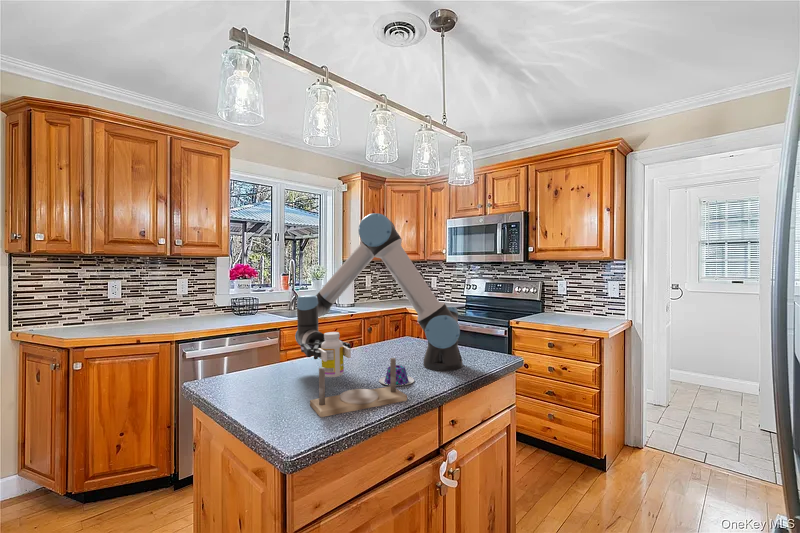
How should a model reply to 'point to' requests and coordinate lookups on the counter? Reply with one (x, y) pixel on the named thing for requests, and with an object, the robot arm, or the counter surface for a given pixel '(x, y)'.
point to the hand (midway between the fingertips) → (337, 355)
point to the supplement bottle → (333, 355)
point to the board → (356, 396)
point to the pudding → (397, 376)
